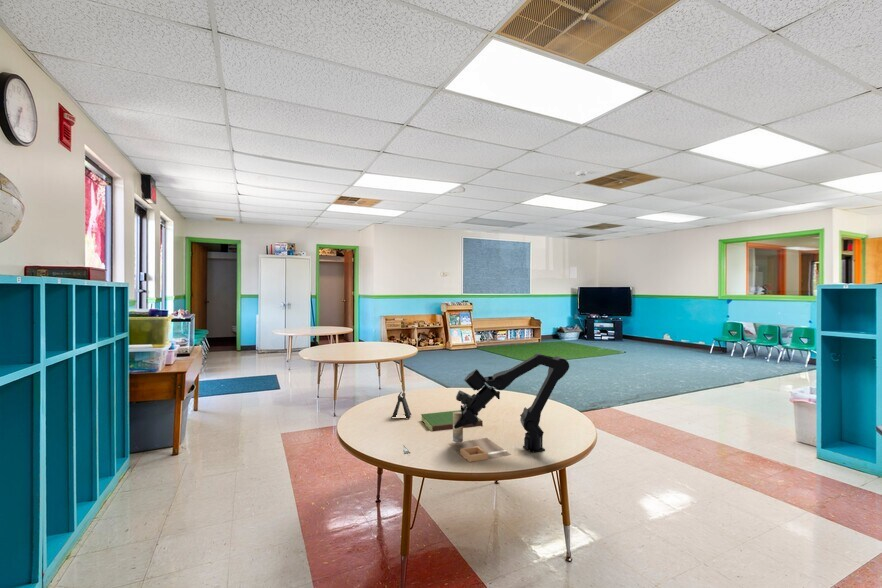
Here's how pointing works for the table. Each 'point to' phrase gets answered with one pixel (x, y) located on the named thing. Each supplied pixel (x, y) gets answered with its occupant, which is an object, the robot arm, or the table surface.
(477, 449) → the socket
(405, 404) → the black a-frame stand
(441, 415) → the hardcover book
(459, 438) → the beige cylinder
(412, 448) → the table surface
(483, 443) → the clear acrylic sheet
